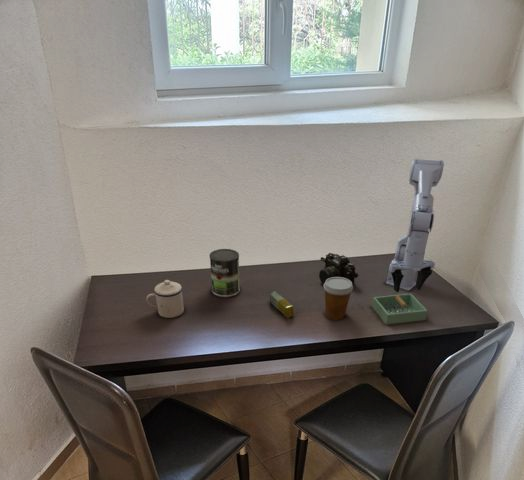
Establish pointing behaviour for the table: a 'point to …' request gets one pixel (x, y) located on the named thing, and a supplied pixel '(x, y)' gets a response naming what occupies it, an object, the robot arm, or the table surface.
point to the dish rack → (402, 305)
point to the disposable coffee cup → (337, 296)
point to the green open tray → (391, 318)
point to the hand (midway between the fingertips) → (407, 289)
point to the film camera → (337, 268)
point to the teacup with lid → (168, 299)
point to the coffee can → (225, 272)
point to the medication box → (281, 304)
